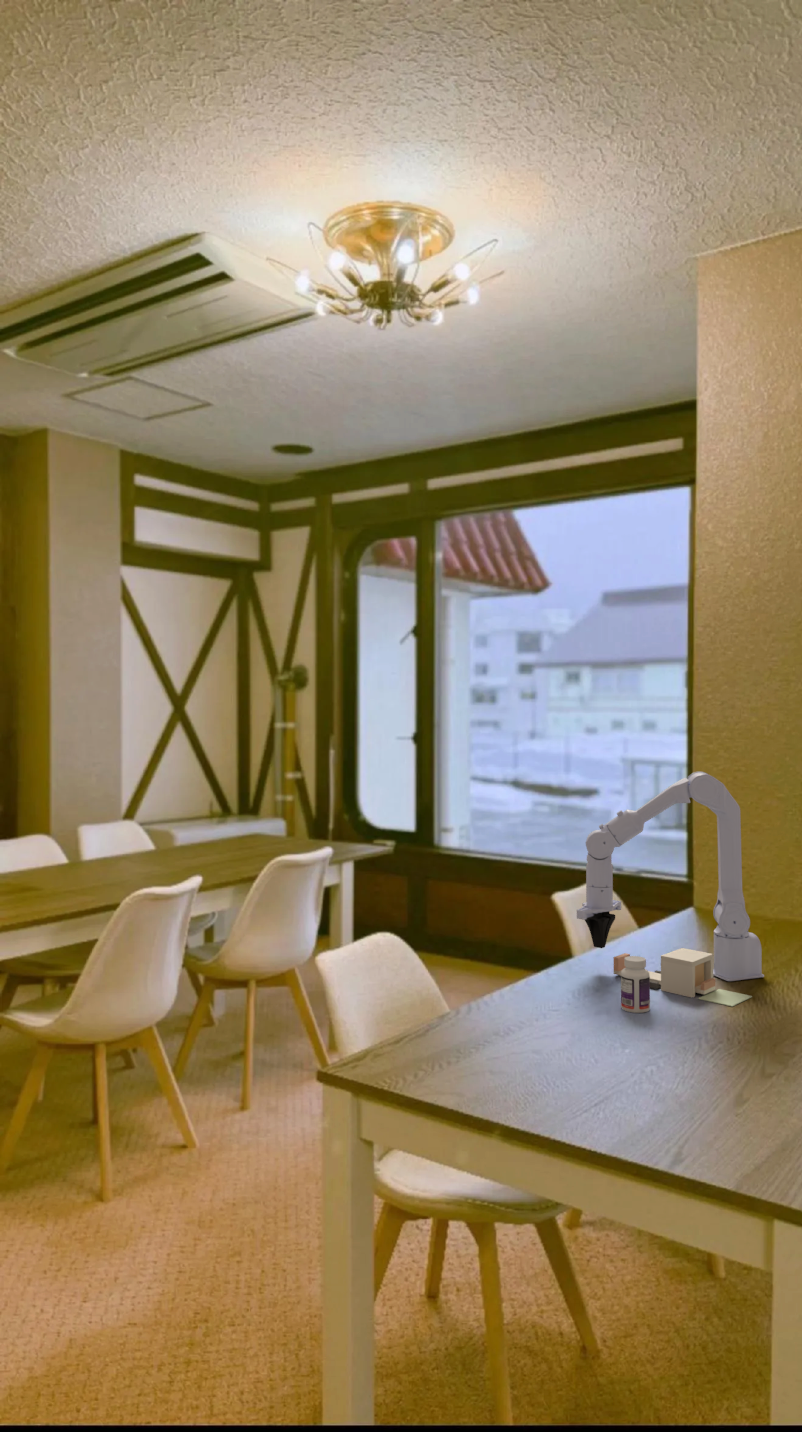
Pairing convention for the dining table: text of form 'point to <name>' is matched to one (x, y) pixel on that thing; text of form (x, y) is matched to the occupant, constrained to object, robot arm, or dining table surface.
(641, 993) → the pill bottle
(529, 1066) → the dining table surface
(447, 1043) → the dining table surface
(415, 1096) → the dining table surface
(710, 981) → the sled
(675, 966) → the tunnel
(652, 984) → the pit tray
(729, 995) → the pad
